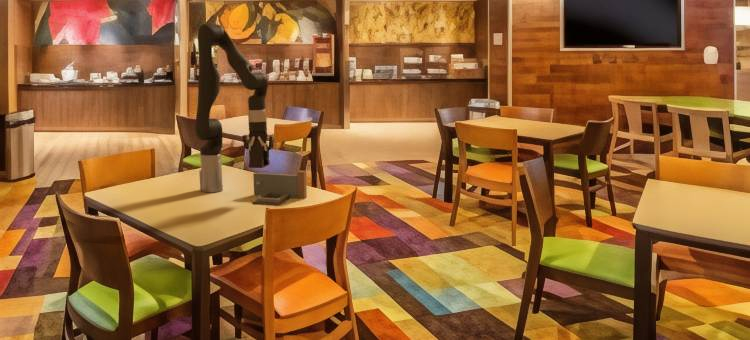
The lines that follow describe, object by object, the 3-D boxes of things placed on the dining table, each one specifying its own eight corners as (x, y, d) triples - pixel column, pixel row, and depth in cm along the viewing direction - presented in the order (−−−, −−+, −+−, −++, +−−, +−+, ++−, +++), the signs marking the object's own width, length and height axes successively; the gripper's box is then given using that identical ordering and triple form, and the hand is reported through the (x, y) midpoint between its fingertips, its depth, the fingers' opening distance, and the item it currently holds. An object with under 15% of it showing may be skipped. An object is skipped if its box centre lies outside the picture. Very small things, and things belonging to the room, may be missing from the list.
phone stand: (261, 168, 263) (260, 140, 260) (248, 167, 264) (247, 139, 262) (270, 164, 271) (268, 137, 269) (257, 164, 273) (255, 137, 270)
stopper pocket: (252, 203, 264) (252, 199, 264) (265, 196, 278) (265, 191, 277) (279, 205, 262) (279, 200, 261) (290, 197, 275) (290, 193, 275)
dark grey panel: (253, 195, 278) (252, 169, 275) (256, 194, 281) (255, 168, 279) (303, 199, 272) (303, 172, 270) (306, 197, 276) (306, 170, 274)
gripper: (238, 121, 262) (240, 160, 265) (269, 121, 259) (271, 161, 262) (245, 119, 269) (247, 157, 272) (276, 119, 266) (278, 158, 269)
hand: (259, 158), depth 267 cm, fingers closed on phone stand, 6 cm apart
